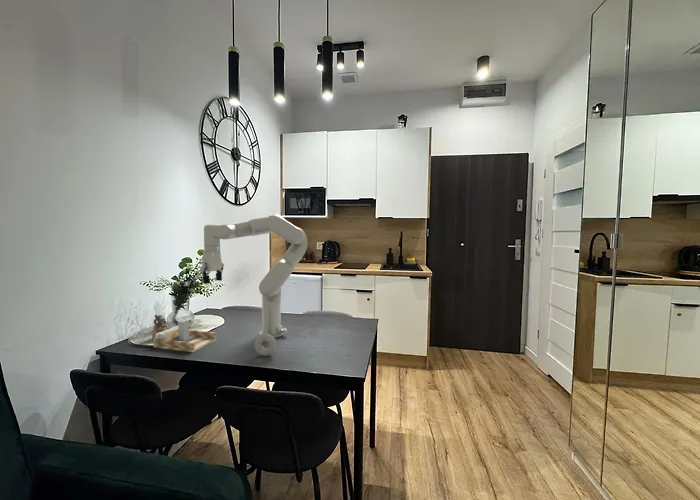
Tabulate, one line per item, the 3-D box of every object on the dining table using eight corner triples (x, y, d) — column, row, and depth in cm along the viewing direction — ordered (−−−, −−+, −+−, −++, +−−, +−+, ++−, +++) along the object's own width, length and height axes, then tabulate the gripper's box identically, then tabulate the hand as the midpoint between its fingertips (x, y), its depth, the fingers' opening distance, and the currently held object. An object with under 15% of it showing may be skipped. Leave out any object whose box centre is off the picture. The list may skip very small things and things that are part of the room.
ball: (177, 329, 159) (174, 336, 160) (170, 332, 155) (167, 338, 156) (183, 334, 158) (180, 340, 159) (176, 336, 155) (173, 343, 155)
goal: (187, 336, 164) (187, 324, 164) (165, 345, 150) (165, 333, 150) (178, 334, 165) (178, 323, 165) (156, 344, 152) (155, 332, 151)
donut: (253, 356, 142) (252, 334, 141) (255, 353, 145) (255, 332, 144) (275, 357, 141) (275, 335, 140) (277, 354, 145) (277, 332, 144)
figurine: (161, 341, 159) (160, 317, 158) (148, 339, 161) (148, 316, 160) (171, 336, 166) (171, 313, 165) (159, 335, 168) (159, 312, 167)
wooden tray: (216, 340, 161) (215, 332, 161) (193, 352, 146) (192, 343, 145) (179, 336, 166) (179, 328, 166) (153, 347, 151) (153, 338, 151)
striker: (194, 338, 159) (193, 319, 159) (182, 344, 152) (181, 323, 151) (185, 337, 161) (184, 318, 160) (172, 343, 153) (172, 322, 152)
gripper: (216, 247, 174) (217, 279, 176) (193, 249, 158) (194, 284, 159) (229, 248, 172) (229, 279, 174) (207, 250, 156) (207, 285, 157)
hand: (212, 281), depth 166 cm, fingers open, 9 cm apart
